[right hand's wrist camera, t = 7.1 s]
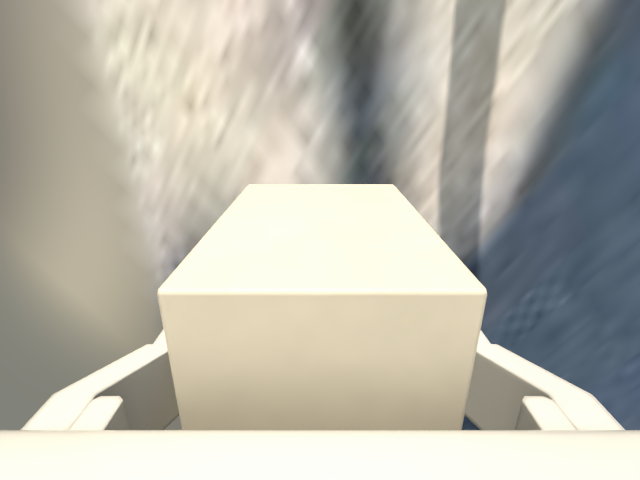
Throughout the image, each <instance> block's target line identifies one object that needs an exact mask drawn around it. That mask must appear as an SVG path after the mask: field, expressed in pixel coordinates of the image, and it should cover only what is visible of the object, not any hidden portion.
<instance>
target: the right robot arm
mask: <svg viewBox="0 0 640 480" xmlns="http://www.w3.org/2000/svg"><path fill="white" fill-rule="evenodd" d="M464 415H465V416H466V417H467V418H468V419H469V420H470V421H471V422H472V423H474V424H475V425H476V426H477V427H478V428H479V429H480V430H164V429H165V428H166V427H167V426H168V425H169V424H170V423H171V422H172V421H174V420H175V419H176V418H177V417H178V416H179V410H178V405H177V399H176V394H175V388H174V383H173V377H172V372H171V366H170V361H169V355H168V350H167V344H166V339H165V333H164V329H163V330H162V332H161V333H160V335H159V336H158V338H157V339H156V340H155V342H154V343H153V344H147V345H145V346H143V347H141V348H139V349H137V350H136V351H134V352H132V353H130V354H128V355H126V356H124V357H122V358H121V359H119V360H117V361H115V362H113V363H111V364H109V365H107V366H105V367H104V368H102V369H100V370H98V371H96V372H94V373H92V374H90V375H89V376H87V377H85V378H83V379H81V380H79V381H77V382H75V383H74V384H72V385H70V386H68V387H66V388H64V389H62V390H60V391H58V392H57V393H55V394H53V395H52V396H51V397H50V398H49V399H48V400H47V402H46V403H45V404H44V405H43V406H42V407H41V408H40V409H39V410H38V411H37V412H36V414H35V415H34V416H33V417H32V418H31V419H30V420H29V421H28V422H27V423H26V424H25V425H24V427H23V428H22V429H21V430H0V480H640V430H625V429H624V428H623V427H622V426H621V425H620V424H619V423H618V422H617V421H616V420H615V419H614V418H613V417H612V415H611V414H610V413H609V412H608V411H607V410H606V409H605V408H604V407H603V406H602V405H601V404H600V403H599V401H598V400H597V399H596V398H595V397H594V396H593V395H592V394H590V393H588V392H586V391H584V390H582V389H580V388H578V387H576V386H575V385H573V384H571V383H569V382H567V381H565V380H563V379H561V378H559V377H558V376H556V375H554V374H552V373H550V372H548V371H546V370H544V369H542V368H541V367H539V366H537V365H535V364H533V363H531V362H529V361H527V360H525V359H524V358H522V357H520V356H518V355H516V354H514V353H512V352H510V351H508V350H507V349H505V348H503V347H501V346H499V345H497V344H490V342H489V341H488V339H487V338H486V337H485V335H484V334H483V332H482V331H481V330H480V335H479V340H478V345H477V351H476V356H475V361H474V367H473V372H472V377H471V382H470V388H469V393H468V398H467V404H466V409H465V414H464Z"/></svg>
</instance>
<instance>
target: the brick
mask: <svg viewBox="0 0 640 480" xmlns="http://www.w3.org/2000/svg"><path fill="white" fill-rule="evenodd" d="M157 295H158V301H159V306H160V312H161V317H162V322H163V328H164V333H165V339H166V344H167V350H168V355H169V361H170V366H171V372H172V377H173V383H174V388H175V394H176V399H177V405H178V410H179V415H180V421H181V426H182V430H462V425H463V420H464V414H465V409H466V404H467V398H468V393H469V388H470V382H471V377H472V372H473V367H474V361H475V356H476V351H477V345H478V340H479V335H480V329H481V324H482V319H483V313H484V308H485V303H486V297H487V291H486V288H485V287H484V286H483V285H482V284H481V283H480V282H479V281H478V279H477V278H476V277H475V276H474V275H473V274H472V273H471V272H470V270H469V269H468V268H467V267H466V266H465V265H464V264H463V263H462V261H461V260H460V259H459V258H458V257H457V256H456V255H455V253H454V252H453V251H452V250H451V249H450V248H449V247H448V246H447V244H446V243H445V242H444V241H443V240H442V239H441V238H440V237H439V235H438V234H437V233H436V232H435V231H434V230H433V229H432V228H431V226H430V225H429V224H428V223H427V222H426V221H425V220H424V219H423V217H422V216H421V215H420V214H419V213H418V212H417V211H416V210H415V208H414V207H413V206H412V205H411V204H410V203H409V202H408V201H407V199H406V198H405V197H404V196H403V195H402V194H401V193H400V191H399V190H398V189H397V188H396V187H395V186H394V185H392V184H250V185H248V186H247V187H246V188H245V189H244V190H243V191H242V193H241V194H240V195H239V196H238V197H237V198H236V200H235V201H234V202H233V203H232V204H231V205H230V207H229V208H228V209H227V210H226V211H225V212H224V214H223V215H222V216H221V217H220V218H219V219H218V220H217V222H216V223H215V224H214V225H213V226H212V227H211V229H210V230H209V231H208V232H207V233H206V234H205V236H204V237H203V238H202V239H201V240H200V241H199V243H198V244H197V245H196V246H195V247H194V248H193V249H192V251H191V252H190V253H189V254H188V255H187V256H186V258H185V259H184V260H183V261H182V262H181V263H180V265H179V266H178V267H177V268H176V269H175V270H174V272H173V273H172V274H171V275H170V276H169V277H168V278H167V280H166V281H165V282H164V283H163V284H162V285H161V287H160V288H159V289H158V294H157Z"/></svg>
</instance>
